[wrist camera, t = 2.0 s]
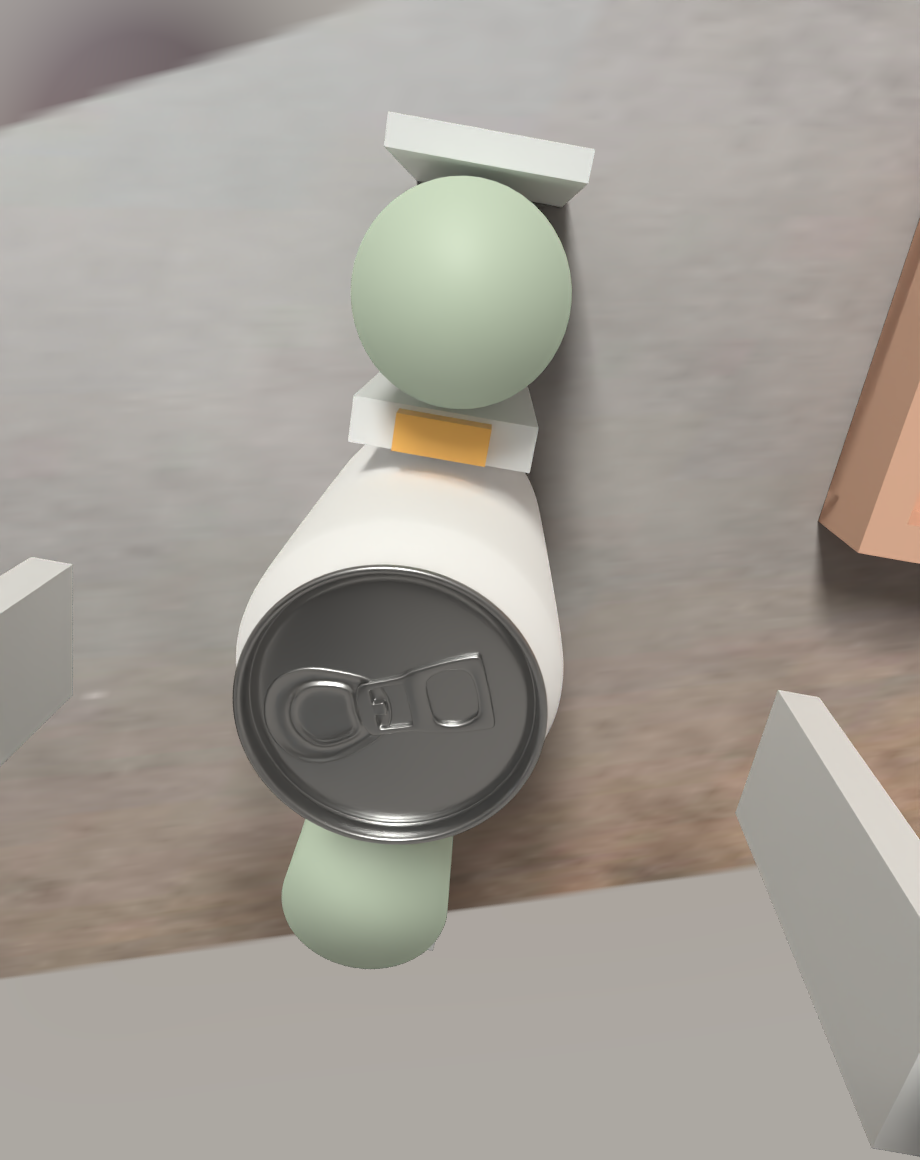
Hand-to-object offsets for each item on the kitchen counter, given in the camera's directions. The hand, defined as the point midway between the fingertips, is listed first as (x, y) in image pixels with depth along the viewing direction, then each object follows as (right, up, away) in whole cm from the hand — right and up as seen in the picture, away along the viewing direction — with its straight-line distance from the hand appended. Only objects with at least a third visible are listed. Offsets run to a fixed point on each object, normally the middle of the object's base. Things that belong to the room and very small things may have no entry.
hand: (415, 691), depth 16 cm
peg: (-1, -3, +13) cm, 13 cm away
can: (0, +4, +11) cm, 11 cm away
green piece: (+1, +10, +8) cm, 13 cm away
